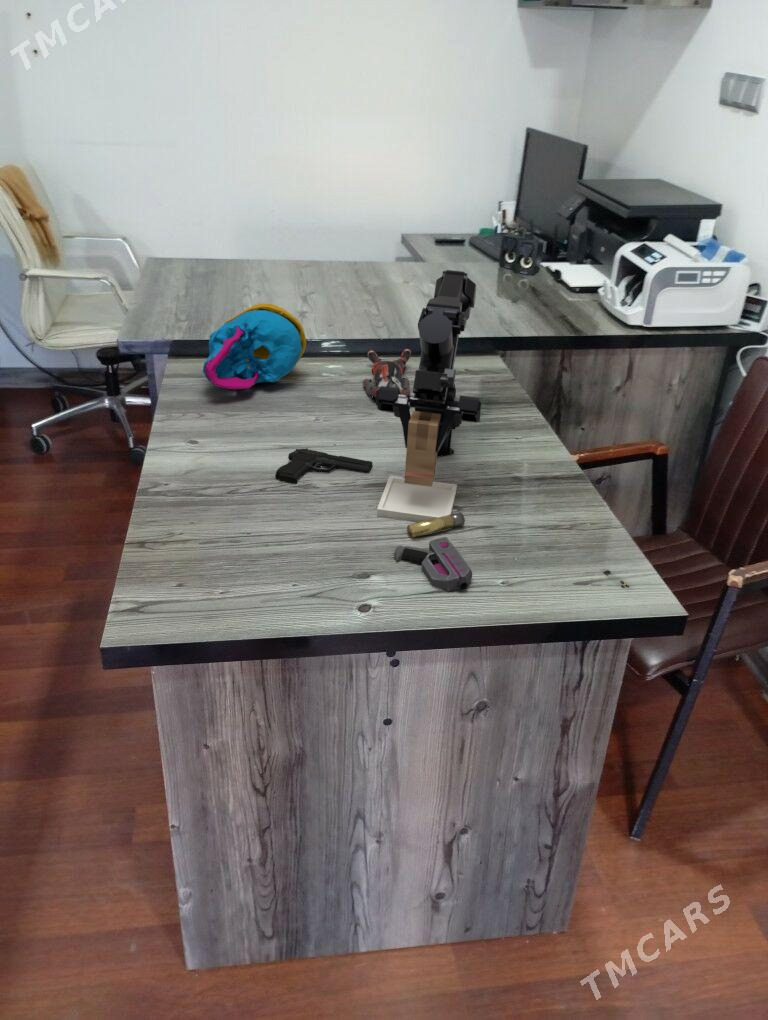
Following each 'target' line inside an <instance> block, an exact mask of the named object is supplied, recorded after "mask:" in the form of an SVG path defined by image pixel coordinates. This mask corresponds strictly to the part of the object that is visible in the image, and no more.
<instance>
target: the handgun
mask: <svg viewBox="0 0 768 1020" xmlns="http://www.w3.org/2000/svg"><path fill="white" fill-rule="evenodd" d="M287 457H288V463H285V464H283V465H281V466H280V467H279V468H278V469H277V470H276V471H275V472H276V473H275V475H274V477H275V478H274V479H275V480H278V482H282V483H287V484H294V485H297V484H298V480H299V479H300V478H301V477H303V475H305V474H306V473H310V472H314V473H321V474H322V473H323V474H328V473H329V474H330V473H331V472H332V471H333V470H345V469H346V471H351V472H358V473H362V472H363V473H364V474H369V473H370V471H371V470H372V468H373V461H371V460H366V459H365V460H364V459H360V458H359V459H358V458H353V457H349V456H343V455H334V454H328V453H327V452H323V451H318V450H313V449H309V448H307V447H306V448H299V449H298V448H296V449H295V450H293V451H291V452H289V453H288V456H287ZM320 466H322V467H321V468H318V467H320ZM326 467H327V468H326Z"/></svg>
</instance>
